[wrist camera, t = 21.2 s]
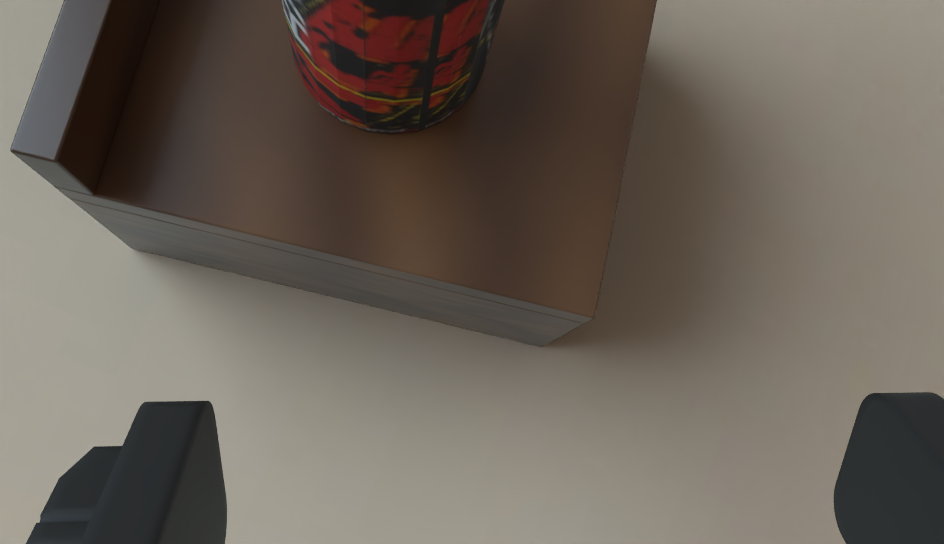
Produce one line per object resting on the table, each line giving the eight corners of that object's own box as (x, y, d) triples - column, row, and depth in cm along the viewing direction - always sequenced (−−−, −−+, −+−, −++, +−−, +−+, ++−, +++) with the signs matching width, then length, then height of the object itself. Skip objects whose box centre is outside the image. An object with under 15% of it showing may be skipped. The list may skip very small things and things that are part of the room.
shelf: (609, 24, 36) (709, -152, 25) (542, 347, 33) (624, 302, 22) (234, -76, 35) (173, -304, 24) (129, 248, 32) (8, 150, 21)
